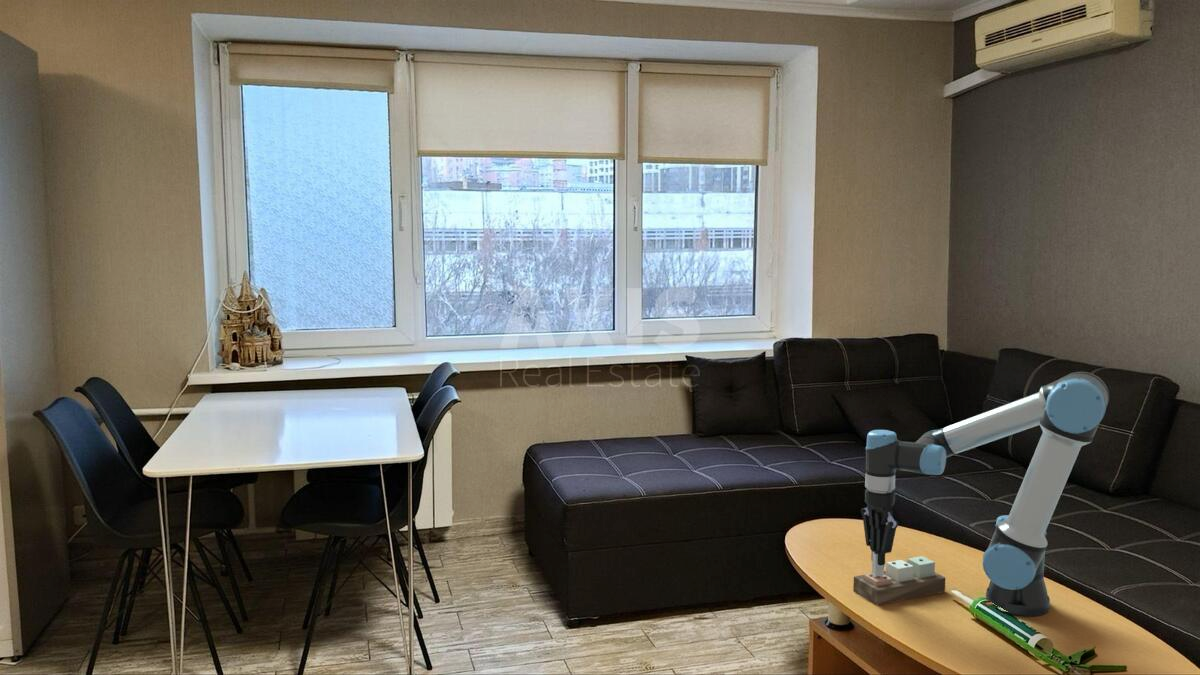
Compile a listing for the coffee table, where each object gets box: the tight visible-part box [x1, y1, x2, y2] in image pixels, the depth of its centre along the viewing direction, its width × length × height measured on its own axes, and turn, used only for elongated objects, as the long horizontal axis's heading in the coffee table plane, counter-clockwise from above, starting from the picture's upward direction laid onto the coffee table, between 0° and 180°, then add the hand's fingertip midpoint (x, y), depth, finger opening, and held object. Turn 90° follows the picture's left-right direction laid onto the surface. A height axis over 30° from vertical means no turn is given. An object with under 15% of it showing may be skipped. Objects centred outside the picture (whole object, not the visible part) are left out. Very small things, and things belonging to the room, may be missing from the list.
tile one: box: [906, 555, 936, 578], centre depth 246 cm, size 5×5×5 cm
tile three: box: [863, 572, 892, 586], centre depth 242 cm, size 5×5×5 cm
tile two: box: [885, 559, 914, 582], centre depth 244 cm, size 5×5×5 cm
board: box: [852, 570, 946, 606], centre depth 244 cm, size 10×22×4 cm, turn 111°
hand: (877, 575), depth 241 cm, fingers closed
